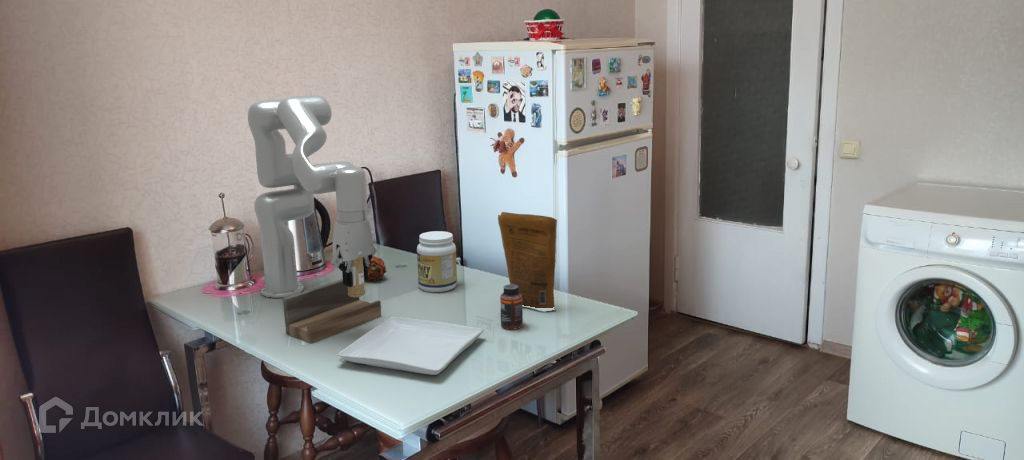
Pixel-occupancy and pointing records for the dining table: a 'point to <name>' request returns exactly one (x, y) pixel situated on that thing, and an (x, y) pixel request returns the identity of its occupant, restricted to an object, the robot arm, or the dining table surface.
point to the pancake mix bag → (530, 256)
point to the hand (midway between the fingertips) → (355, 282)
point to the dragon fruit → (376, 269)
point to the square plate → (411, 345)
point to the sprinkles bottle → (357, 277)
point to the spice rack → (326, 312)
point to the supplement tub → (436, 261)
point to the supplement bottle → (511, 307)
